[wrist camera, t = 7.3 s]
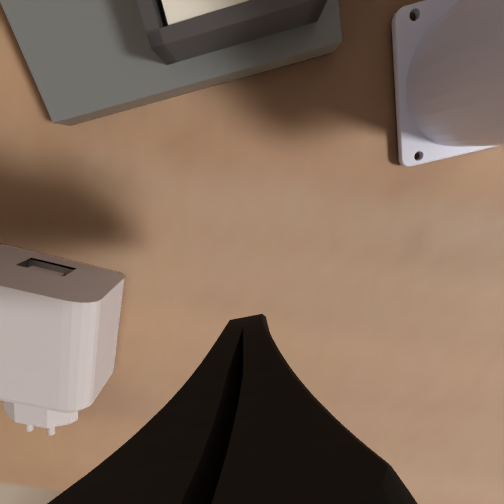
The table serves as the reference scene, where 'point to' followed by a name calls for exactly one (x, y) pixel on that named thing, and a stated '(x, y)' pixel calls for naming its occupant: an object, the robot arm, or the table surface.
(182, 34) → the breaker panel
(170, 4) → the on button
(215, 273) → the table surface
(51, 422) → the charger
